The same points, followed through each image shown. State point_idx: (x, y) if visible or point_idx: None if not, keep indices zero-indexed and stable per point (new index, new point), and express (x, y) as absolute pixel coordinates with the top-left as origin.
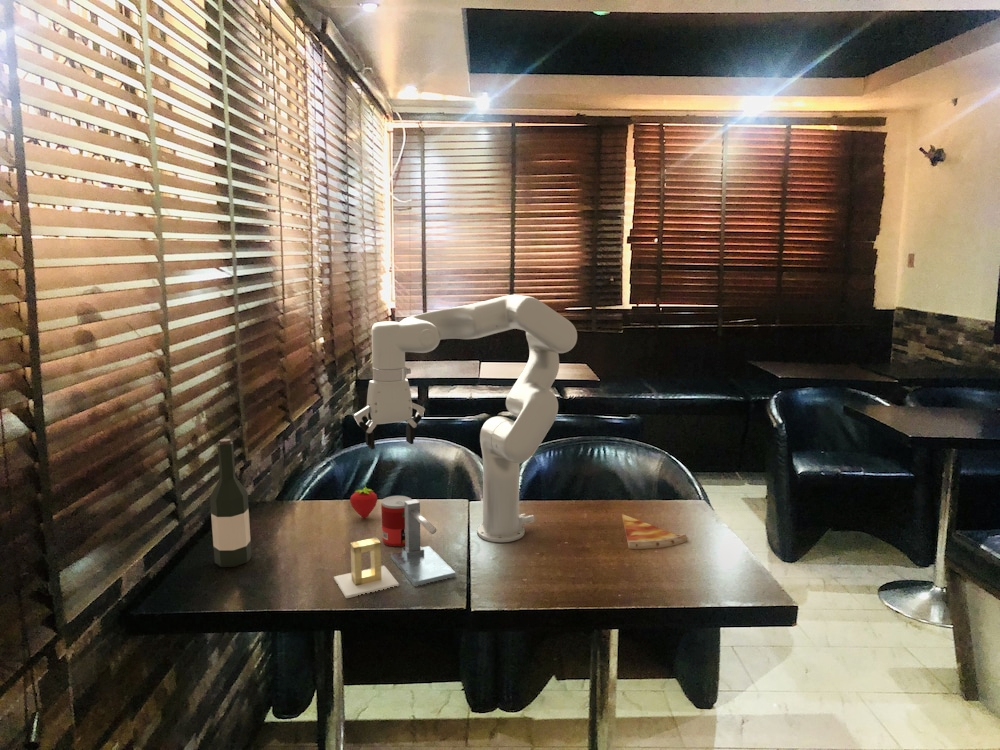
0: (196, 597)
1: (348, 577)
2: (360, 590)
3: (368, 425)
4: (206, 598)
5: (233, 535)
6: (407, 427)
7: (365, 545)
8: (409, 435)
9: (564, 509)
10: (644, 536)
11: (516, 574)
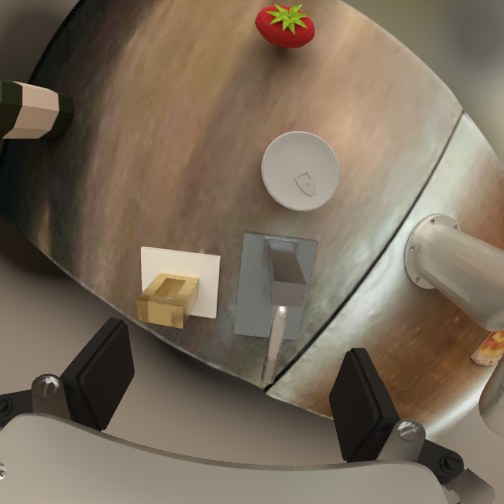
0: (21, 203)
1: (158, 262)
2: None
3: (53, 414)
4: (27, 210)
5: (24, 137)
6: (362, 434)
7: (156, 323)
8: (340, 420)
9: None
10: (493, 344)
11: None
